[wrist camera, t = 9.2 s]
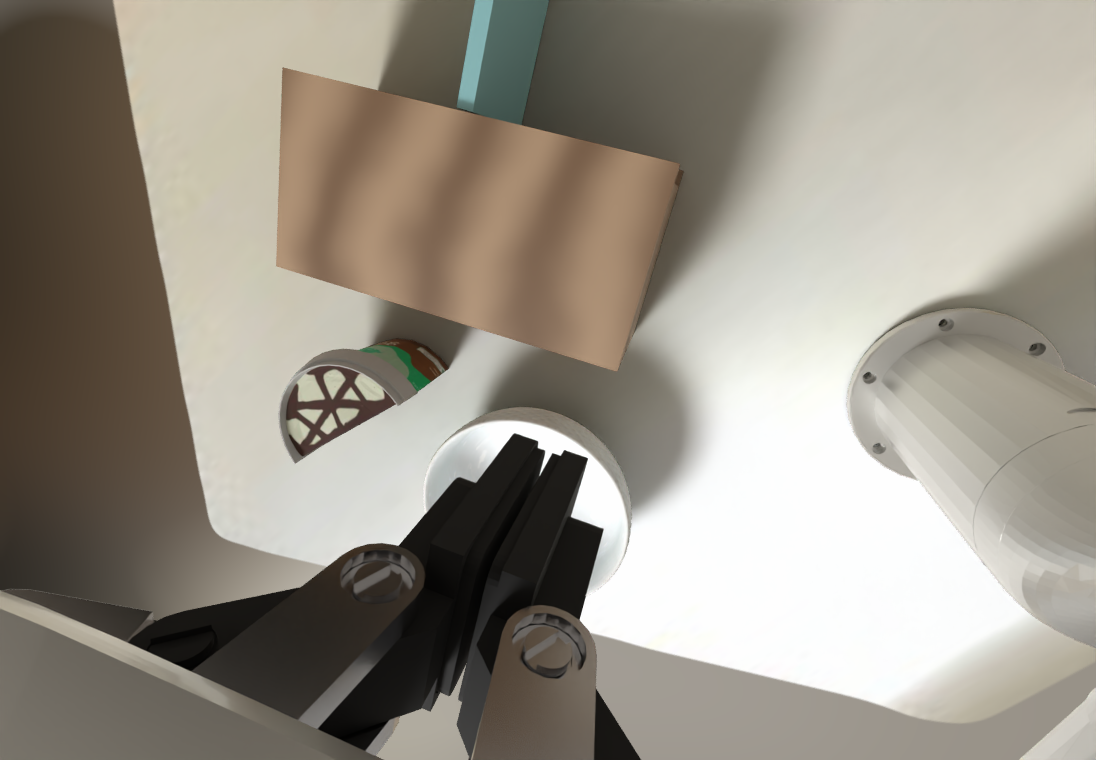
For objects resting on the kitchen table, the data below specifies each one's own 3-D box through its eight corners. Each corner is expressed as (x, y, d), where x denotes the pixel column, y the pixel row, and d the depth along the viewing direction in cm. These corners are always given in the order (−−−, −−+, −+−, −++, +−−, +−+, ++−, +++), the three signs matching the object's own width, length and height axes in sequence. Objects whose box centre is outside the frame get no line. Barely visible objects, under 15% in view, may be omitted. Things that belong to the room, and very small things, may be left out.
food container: (423, 299, 45) (354, 326, 36) (461, 361, 46) (404, 402, 37) (326, 362, 50) (243, 400, 41) (363, 417, 51) (290, 466, 41)
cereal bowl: (631, 385, 43) (620, 418, 36) (644, 559, 48) (636, 616, 41) (441, 390, 48) (401, 421, 41) (471, 548, 52) (440, 598, 46)
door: (532, -77, 34) (480, -163, 26) (564, -69, 34) (522, -155, 25) (492, 121, 38) (437, 101, 30) (520, 129, 38) (472, 111, 30)
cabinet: (683, 171, 37) (679, 163, 28) (634, 332, 41) (616, 371, 32) (375, 96, 40) (282, 67, 31) (361, 251, 45) (276, 266, 36)
